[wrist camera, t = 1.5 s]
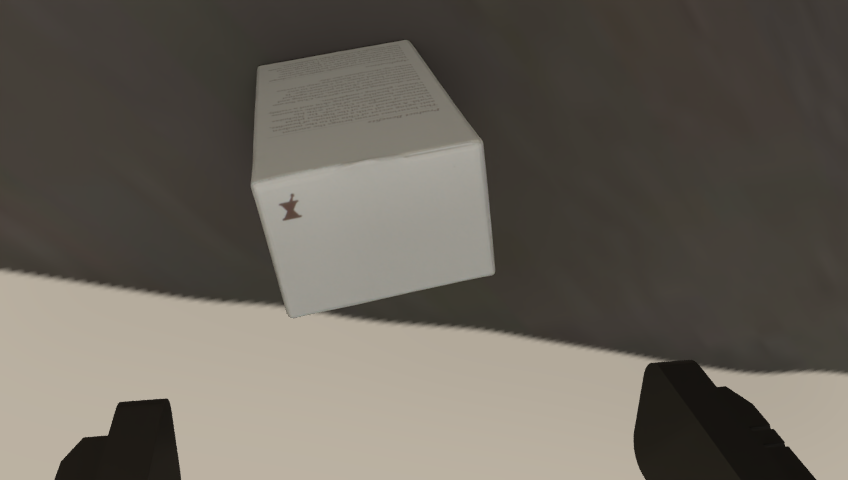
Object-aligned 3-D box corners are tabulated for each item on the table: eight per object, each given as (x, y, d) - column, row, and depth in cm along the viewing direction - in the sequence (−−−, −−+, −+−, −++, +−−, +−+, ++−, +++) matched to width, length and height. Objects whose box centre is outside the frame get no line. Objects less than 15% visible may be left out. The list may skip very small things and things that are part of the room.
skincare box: (280, 167, 32) (281, 325, 22) (255, 63, 30) (243, 179, 20) (428, 139, 33) (500, 279, 22) (413, 35, 31) (484, 134, 20)
